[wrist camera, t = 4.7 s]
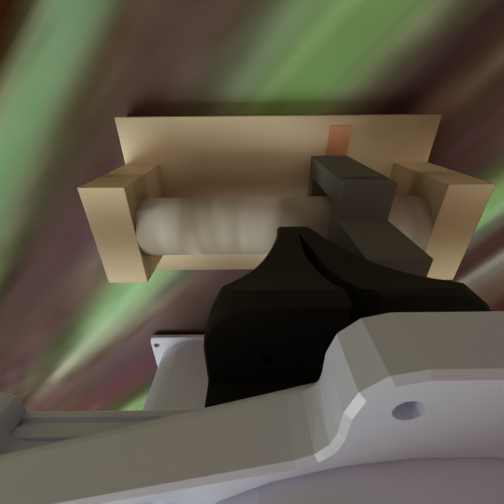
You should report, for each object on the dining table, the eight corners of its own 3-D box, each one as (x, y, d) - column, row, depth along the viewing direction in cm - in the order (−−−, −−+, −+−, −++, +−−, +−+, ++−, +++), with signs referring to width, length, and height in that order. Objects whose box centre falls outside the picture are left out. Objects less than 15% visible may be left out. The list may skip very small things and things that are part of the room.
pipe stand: (385, 257, 21) (437, 316, 15) (156, 259, 21) (120, 319, 15) (426, 113, 16) (527, 119, 10) (126, 116, 16) (53, 123, 10)
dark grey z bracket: (331, 247, 18) (394, 359, 10) (302, 248, 18) (342, 360, 10) (346, 155, 15) (451, 211, 7) (311, 155, 15) (378, 212, 7)
